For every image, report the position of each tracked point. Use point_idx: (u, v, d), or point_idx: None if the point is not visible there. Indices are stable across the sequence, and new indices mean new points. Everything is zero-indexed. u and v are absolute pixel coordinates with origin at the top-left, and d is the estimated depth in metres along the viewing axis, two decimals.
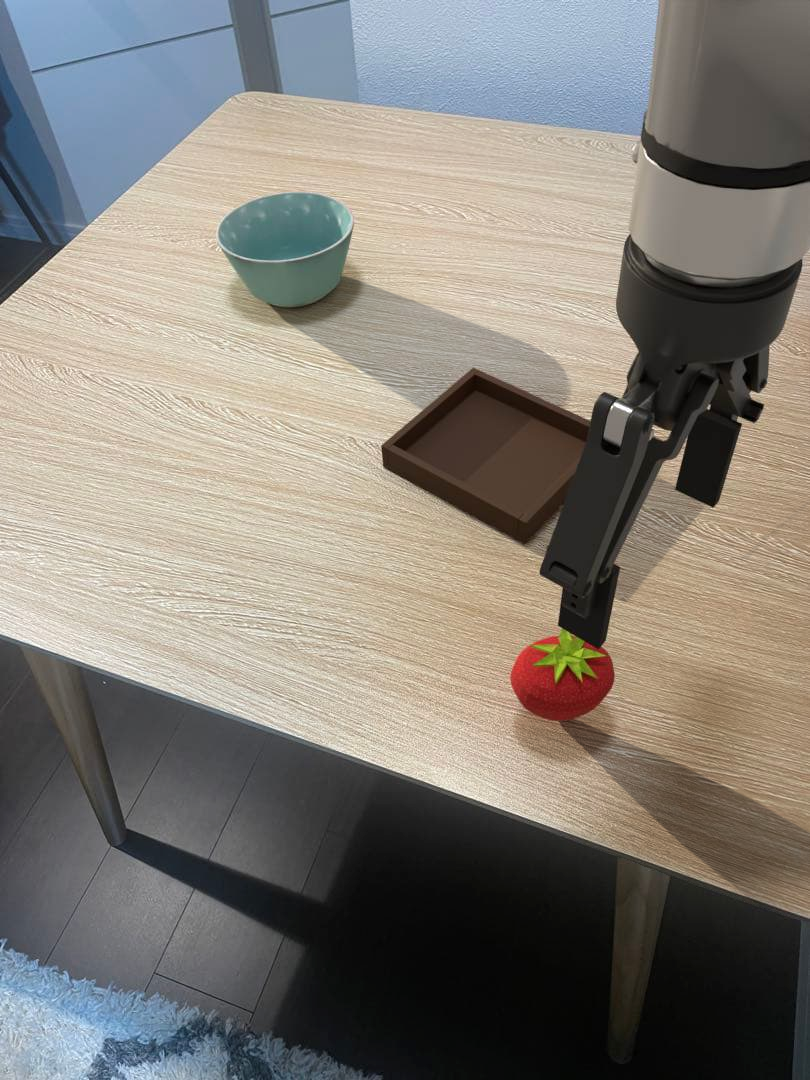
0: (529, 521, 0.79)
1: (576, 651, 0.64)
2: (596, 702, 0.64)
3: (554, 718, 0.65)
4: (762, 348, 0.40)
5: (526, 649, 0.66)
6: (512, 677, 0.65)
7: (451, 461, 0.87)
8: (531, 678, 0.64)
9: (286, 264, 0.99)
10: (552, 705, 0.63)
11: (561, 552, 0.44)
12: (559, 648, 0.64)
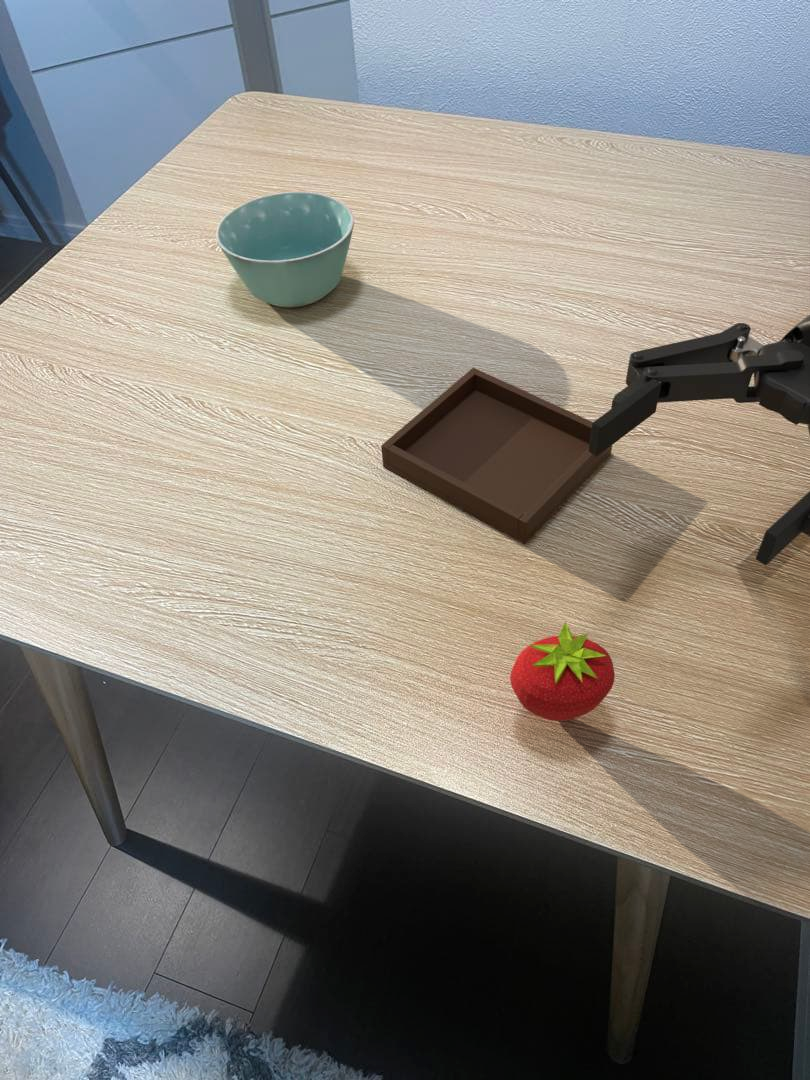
0: (529, 521, 0.79)
1: (576, 651, 0.64)
2: (596, 702, 0.64)
3: (554, 718, 0.65)
4: None
5: (526, 649, 0.66)
6: (512, 677, 0.65)
7: (451, 461, 0.87)
8: (531, 678, 0.64)
9: (286, 264, 0.99)
10: (552, 705, 0.63)
11: None
12: (559, 648, 0.64)
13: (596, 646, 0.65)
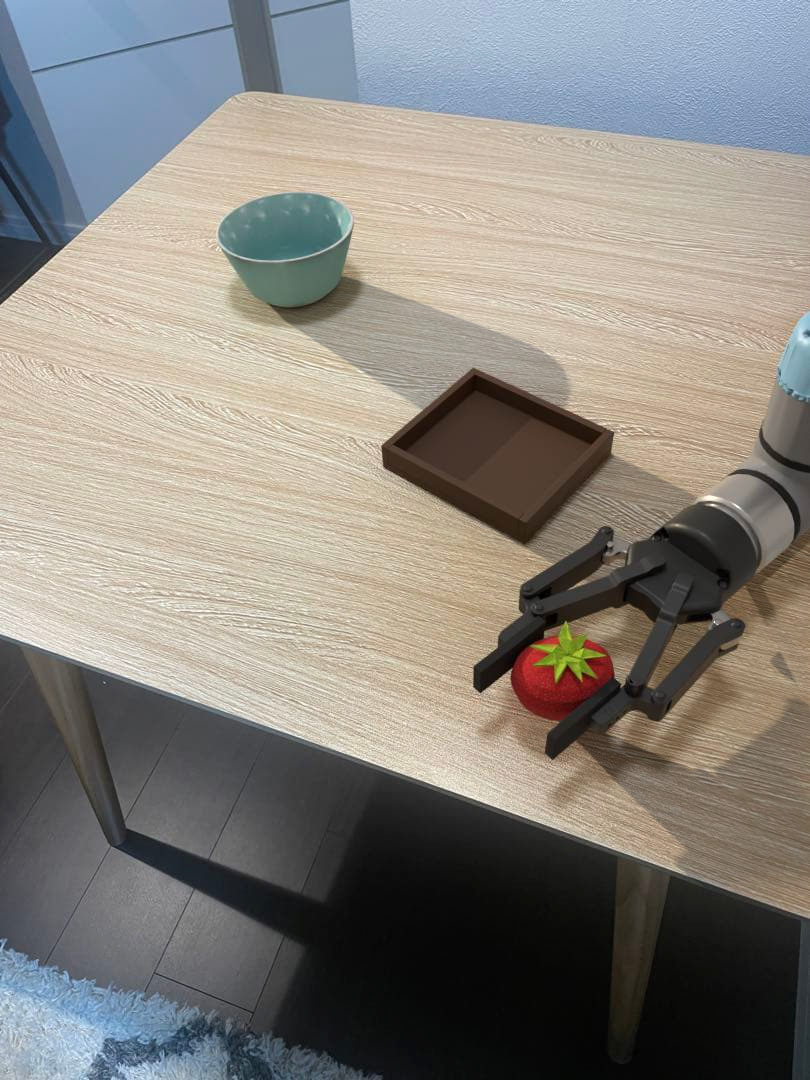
0: (529, 521, 0.79)
1: (576, 651, 0.64)
2: None
3: (554, 718, 0.65)
4: (689, 525, 0.69)
5: (526, 649, 0.66)
6: (512, 677, 0.65)
7: (451, 461, 0.87)
8: (531, 678, 0.64)
9: (286, 264, 0.99)
10: (552, 705, 0.63)
11: None
12: (559, 648, 0.64)
13: (596, 646, 0.65)
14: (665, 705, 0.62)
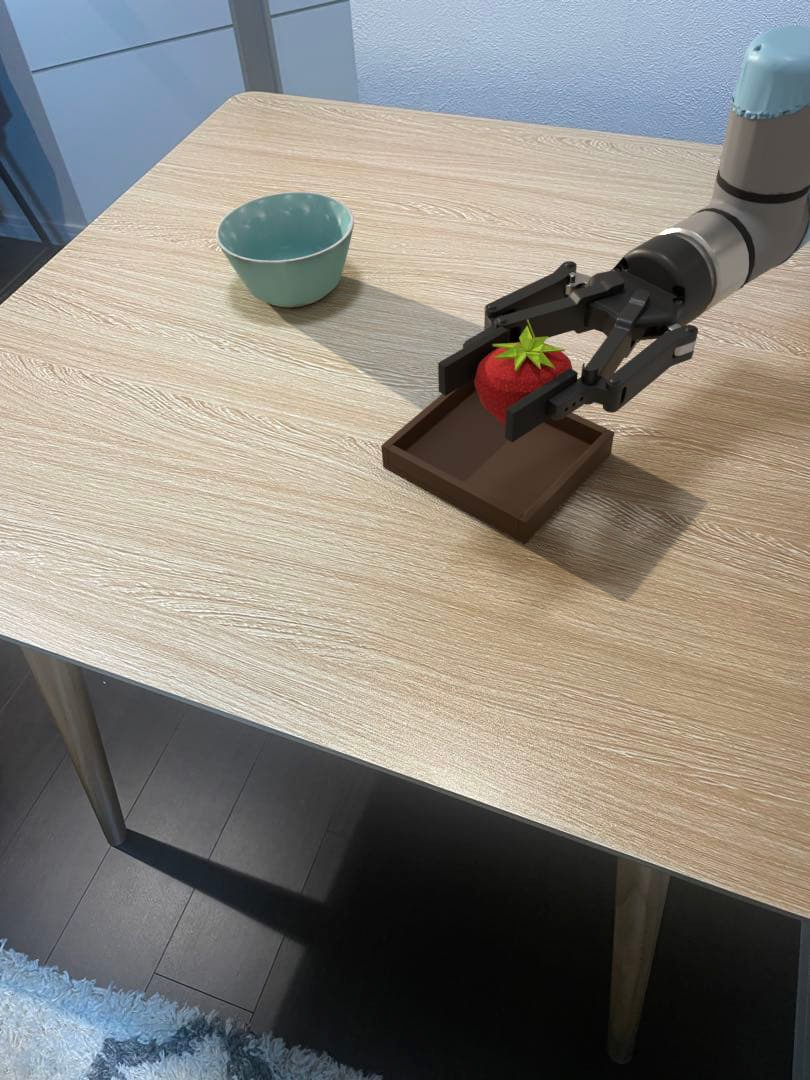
0: (529, 521, 0.79)
1: (536, 348, 0.67)
2: None
3: None
4: (647, 248, 0.72)
5: None
6: (475, 378, 0.68)
7: (451, 461, 0.87)
8: (493, 372, 0.67)
9: (286, 264, 0.99)
10: (513, 396, 0.67)
11: None
12: (520, 345, 0.67)
13: None
14: (619, 390, 0.65)
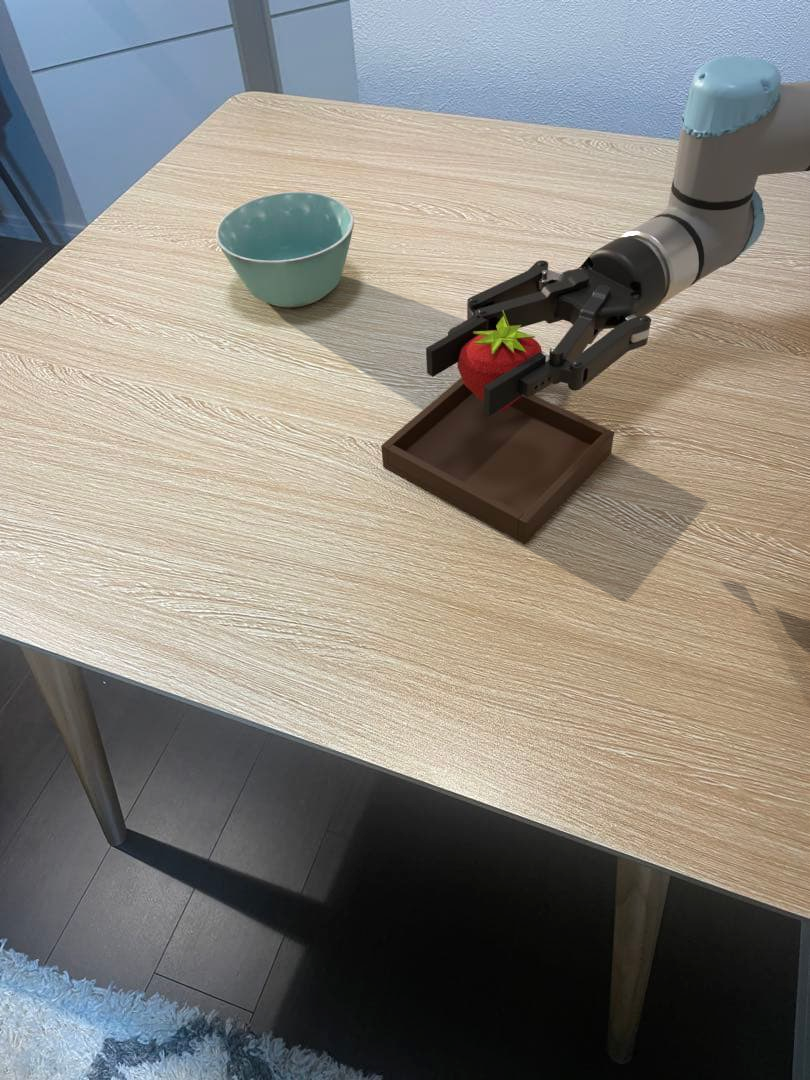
0: (529, 521, 0.79)
1: (510, 334, 0.78)
2: None
3: None
4: (608, 249, 0.83)
5: (470, 340, 0.80)
6: (458, 361, 0.79)
7: (451, 461, 0.87)
8: (473, 355, 0.78)
9: (286, 264, 0.99)
10: (490, 376, 0.77)
11: None
12: (496, 333, 0.78)
13: None
14: (581, 371, 0.76)
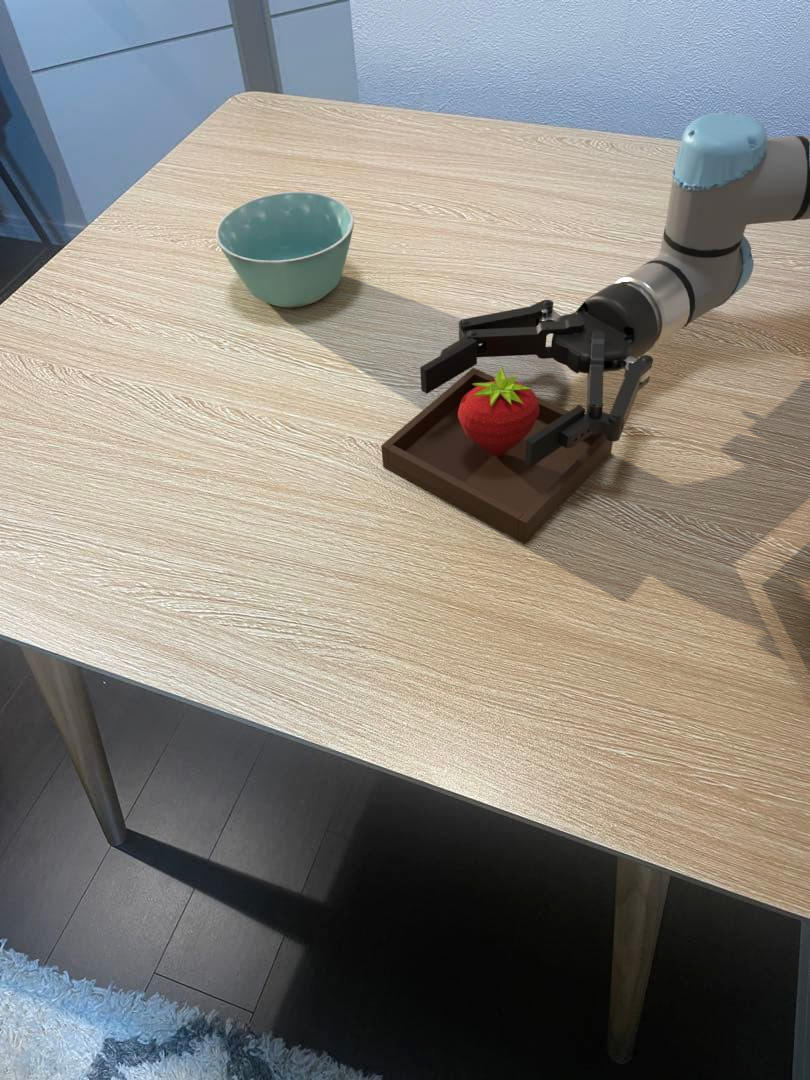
0: (529, 521, 0.79)
1: (508, 386, 0.82)
2: (524, 426, 0.82)
3: (491, 442, 0.83)
4: (603, 295, 0.87)
5: None
6: (459, 411, 0.83)
7: (451, 461, 0.87)
8: (472, 406, 0.82)
9: (286, 264, 0.99)
10: (489, 426, 0.82)
11: None
12: (495, 384, 0.82)
13: (524, 386, 0.83)
14: (621, 422, 0.79)
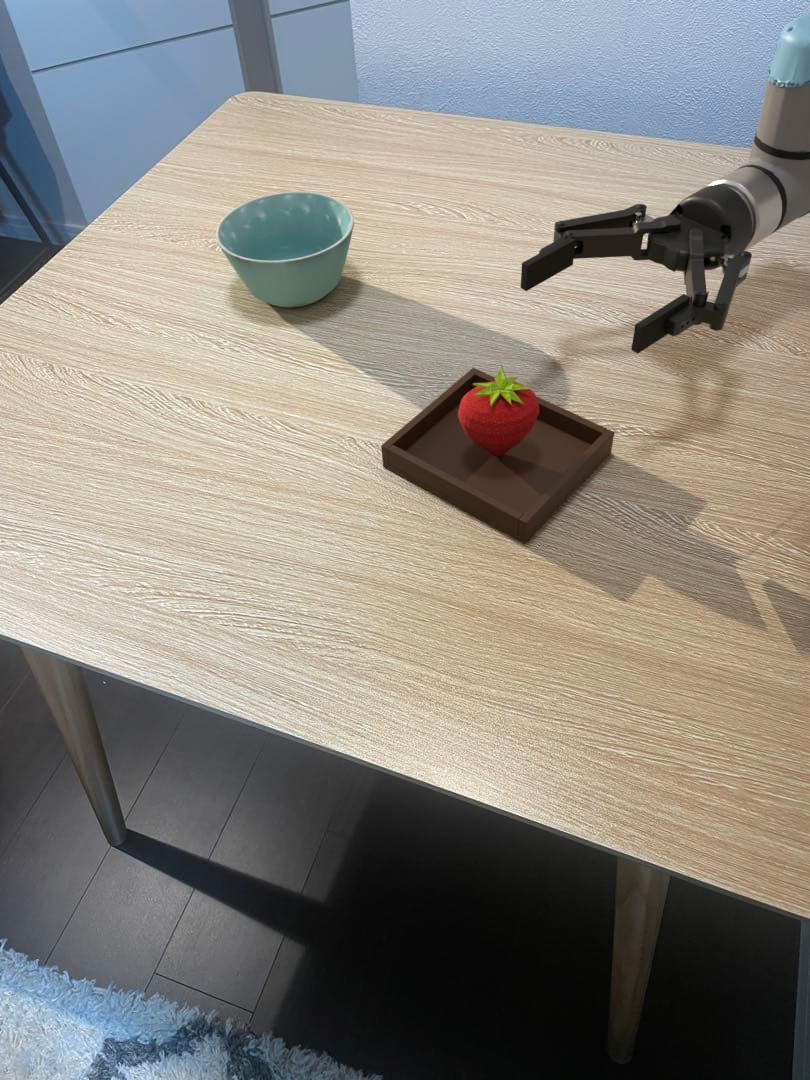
0: (529, 521, 0.79)
1: (508, 386, 0.82)
2: (524, 426, 0.82)
3: (491, 442, 0.83)
4: (699, 195, 0.88)
5: None
6: (459, 411, 0.83)
7: (451, 461, 0.87)
8: (472, 406, 0.82)
9: (286, 264, 0.99)
10: (489, 426, 0.82)
11: None
12: (495, 384, 0.82)
13: (524, 386, 0.83)
14: (726, 310, 0.80)
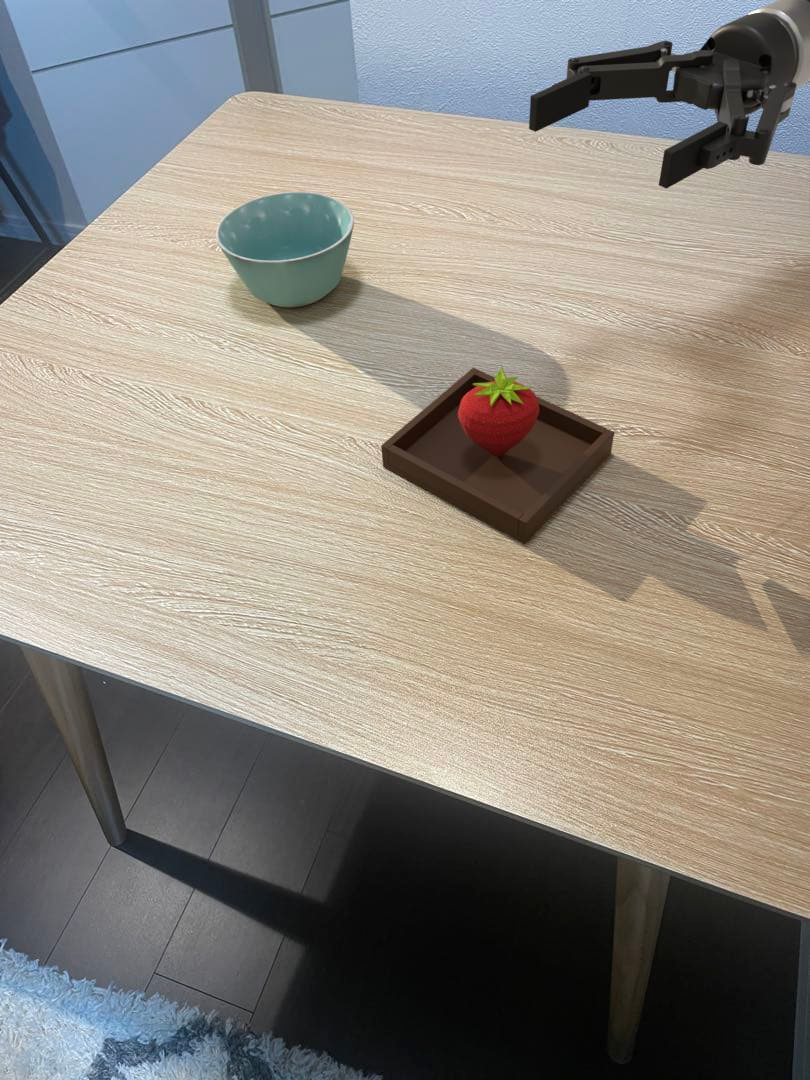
0: (529, 521, 0.79)
1: (508, 386, 0.82)
2: (524, 426, 0.82)
3: (491, 442, 0.83)
4: (734, 22, 0.76)
5: None
6: (459, 411, 0.83)
7: (451, 461, 0.87)
8: (472, 406, 0.82)
9: (286, 264, 0.99)
10: (489, 426, 0.82)
11: None
12: (495, 384, 0.82)
13: (524, 386, 0.83)
14: (770, 138, 0.69)
